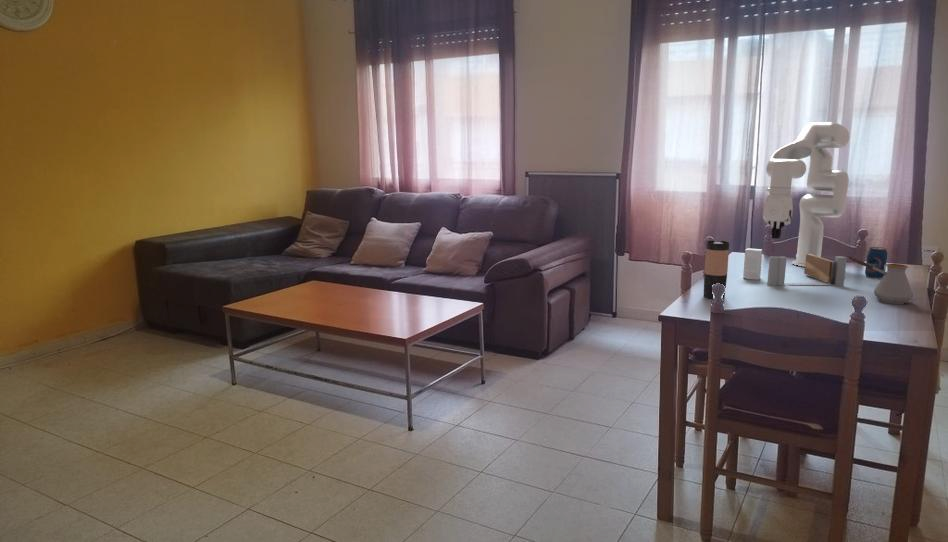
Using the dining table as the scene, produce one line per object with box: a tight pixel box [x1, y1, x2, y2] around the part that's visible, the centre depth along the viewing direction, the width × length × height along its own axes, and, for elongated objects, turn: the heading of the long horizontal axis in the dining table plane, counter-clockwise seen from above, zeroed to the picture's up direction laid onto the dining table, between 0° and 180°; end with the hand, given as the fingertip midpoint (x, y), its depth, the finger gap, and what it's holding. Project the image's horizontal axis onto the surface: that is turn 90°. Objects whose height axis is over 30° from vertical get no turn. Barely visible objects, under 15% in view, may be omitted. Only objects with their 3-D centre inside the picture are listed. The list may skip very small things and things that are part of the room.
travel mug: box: [703, 240, 730, 300], centre depth 230 cm, size 8×8×20 cm
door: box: [803, 254, 836, 284], centre depth 258 cm, size 2×19×8 cm, turn 2°
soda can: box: [864, 246, 888, 279], centre depth 263 cm, size 7×7×12 cm
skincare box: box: [742, 247, 763, 280], centre depth 261 cm, size 6×4×12 cm
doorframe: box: [766, 255, 848, 287], centre depth 249 cm, size 3×28×11 cm, turn 89°
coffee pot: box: [845, 256, 914, 305], centre depth 225 cm, size 21×12×15 cm, turn 68°
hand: (775, 238), depth 258 cm, fingers closed
